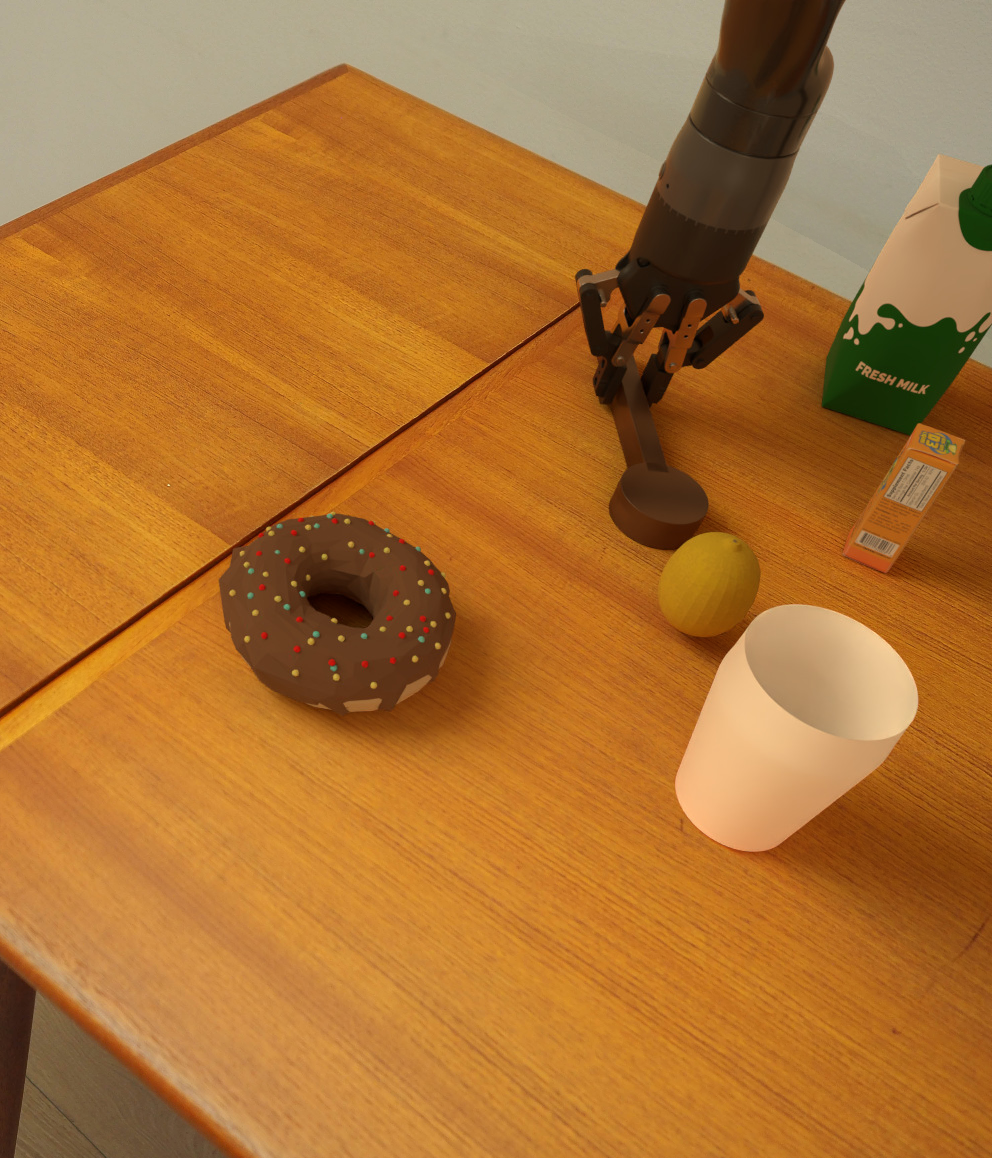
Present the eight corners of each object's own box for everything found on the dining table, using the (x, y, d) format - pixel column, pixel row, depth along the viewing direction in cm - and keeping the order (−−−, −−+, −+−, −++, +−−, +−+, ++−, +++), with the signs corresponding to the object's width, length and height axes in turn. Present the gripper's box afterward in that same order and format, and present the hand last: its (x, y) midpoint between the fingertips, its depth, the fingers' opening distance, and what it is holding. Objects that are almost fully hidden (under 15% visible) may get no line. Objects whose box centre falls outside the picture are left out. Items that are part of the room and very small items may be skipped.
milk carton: (808, 410, 101) (946, 176, 86) (815, 347, 107) (945, 118, 92) (924, 447, 99) (1084, 216, 85) (924, 381, 105) (1074, 155, 91)
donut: (327, 523, 85) (342, 467, 82) (487, 655, 79) (511, 600, 76) (161, 622, 78) (170, 564, 74) (324, 775, 72) (341, 721, 68)
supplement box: (846, 527, 92) (919, 417, 84) (894, 549, 91) (973, 440, 83) (835, 554, 90) (910, 444, 82) (885, 577, 89) (965, 468, 81)
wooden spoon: (568, 351, 102) (578, 326, 100) (643, 360, 102) (654, 335, 101) (617, 544, 87) (629, 518, 86) (703, 553, 88) (718, 528, 86)
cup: (622, 792, 74) (707, 658, 65) (704, 711, 78) (793, 575, 70) (762, 903, 70) (872, 776, 61) (839, 810, 75) (951, 680, 66)
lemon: (639, 648, 81) (688, 560, 75) (640, 586, 85) (688, 497, 79) (727, 672, 81) (784, 585, 75) (725, 608, 85) (779, 521, 79)
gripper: (622, 211, 82) (538, 422, 95) (835, 239, 83) (723, 444, 96) (601, 150, 87) (524, 358, 100) (802, 177, 88) (700, 379, 101)
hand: (622, 399), depth 98 cm, fingers closed
